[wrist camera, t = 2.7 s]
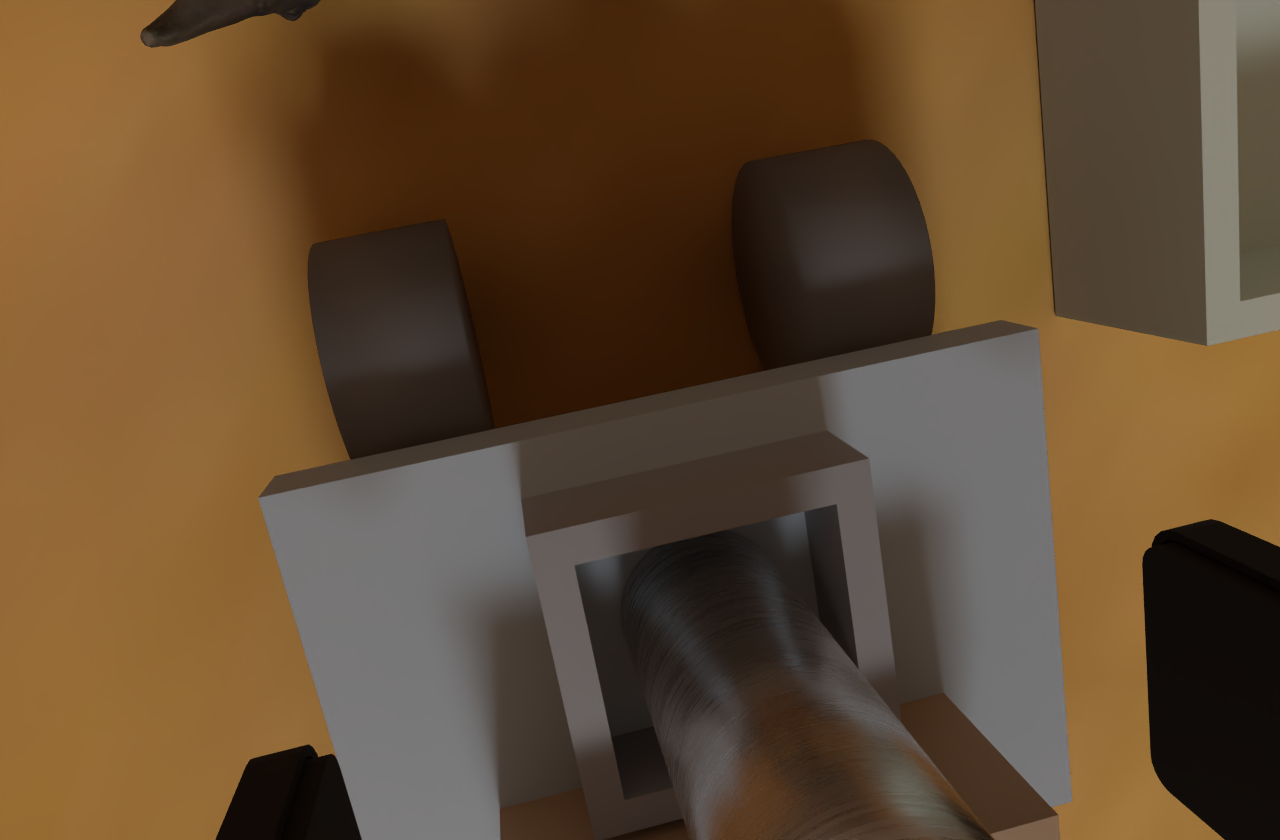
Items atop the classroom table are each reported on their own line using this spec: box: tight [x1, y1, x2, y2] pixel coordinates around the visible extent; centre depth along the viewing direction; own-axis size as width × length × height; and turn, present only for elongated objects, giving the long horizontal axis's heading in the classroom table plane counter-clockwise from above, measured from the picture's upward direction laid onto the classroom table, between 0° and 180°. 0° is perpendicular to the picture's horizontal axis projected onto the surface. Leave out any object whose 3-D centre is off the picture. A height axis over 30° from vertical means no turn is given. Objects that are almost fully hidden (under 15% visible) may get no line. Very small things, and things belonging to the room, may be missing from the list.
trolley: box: [258, 140, 1072, 840], centre depth 15 cm, size 11×14×8 cm
